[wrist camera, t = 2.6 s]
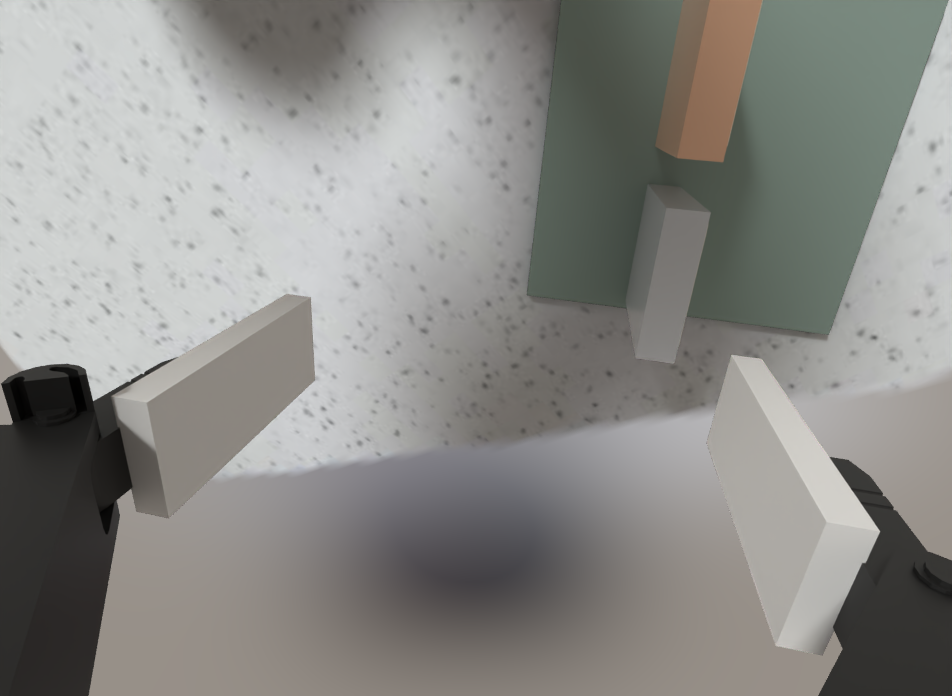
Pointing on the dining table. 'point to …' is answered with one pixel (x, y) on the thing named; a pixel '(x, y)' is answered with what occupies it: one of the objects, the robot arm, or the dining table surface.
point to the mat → (728, 153)
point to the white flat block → (664, 270)
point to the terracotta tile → (706, 77)
